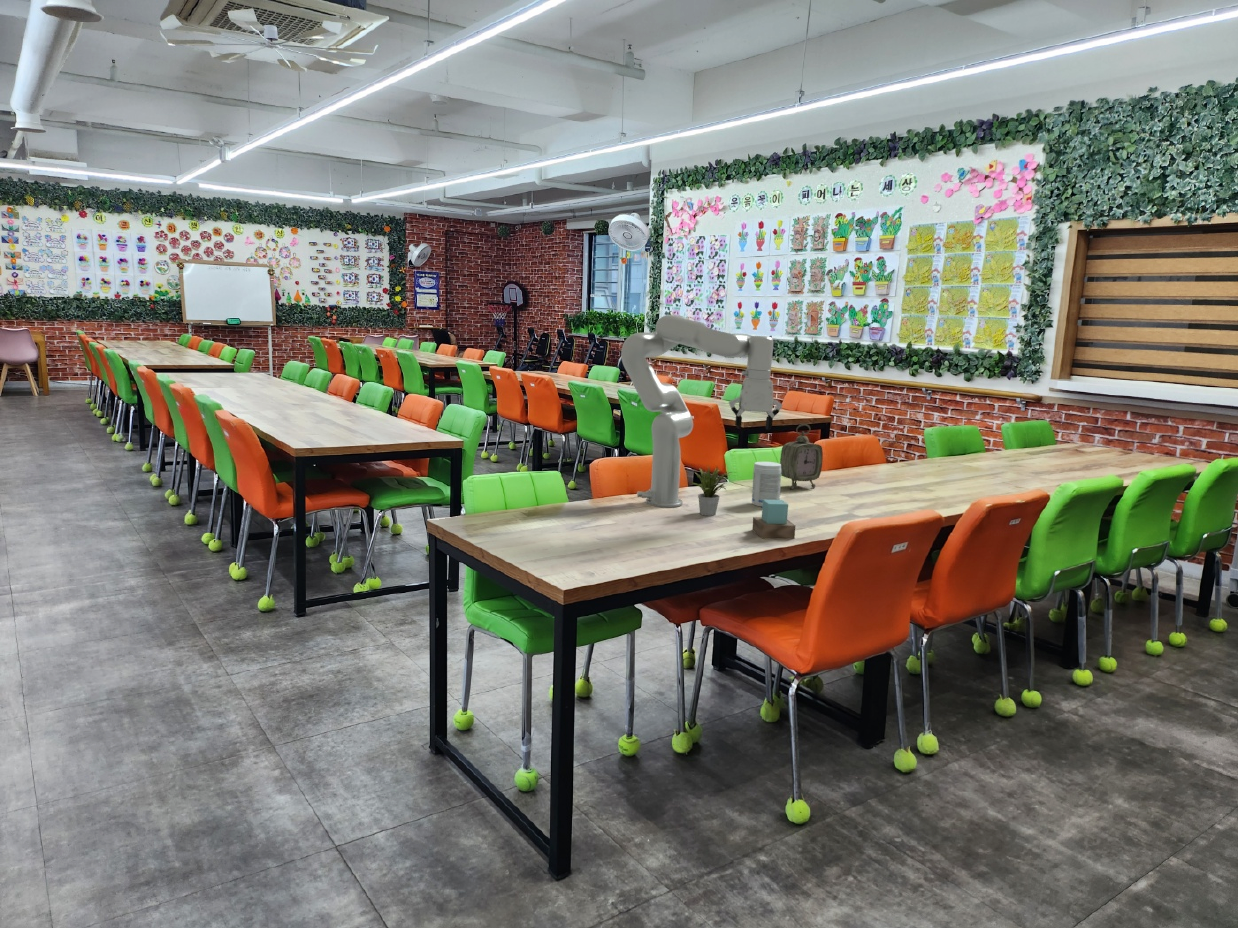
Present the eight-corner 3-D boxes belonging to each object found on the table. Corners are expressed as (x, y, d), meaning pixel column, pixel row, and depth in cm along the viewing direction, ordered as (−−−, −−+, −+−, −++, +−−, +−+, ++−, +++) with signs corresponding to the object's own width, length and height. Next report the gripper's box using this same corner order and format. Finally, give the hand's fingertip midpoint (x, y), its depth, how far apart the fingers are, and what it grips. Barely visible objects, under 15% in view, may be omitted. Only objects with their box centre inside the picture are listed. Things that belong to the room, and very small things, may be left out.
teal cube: (767, 523, 252) (768, 504, 251) (761, 518, 258) (762, 499, 257) (786, 523, 253) (788, 504, 252) (780, 518, 259) (782, 499, 258)
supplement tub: (784, 505, 297) (787, 464, 294) (768, 509, 290) (771, 467, 288) (762, 500, 303) (765, 460, 301) (745, 503, 297) (748, 462, 294)
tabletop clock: (791, 491, 323) (796, 426, 318) (776, 486, 331) (780, 422, 326) (820, 488, 330) (825, 425, 325) (804, 484, 338) (809, 422, 333)
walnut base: (762, 538, 251) (762, 525, 250) (752, 529, 261) (753, 517, 260) (794, 538, 252) (795, 525, 252) (783, 530, 262) (784, 517, 261)
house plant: (728, 521, 270) (732, 471, 267) (685, 517, 272) (688, 468, 269) (731, 512, 283) (735, 464, 281) (690, 508, 286) (693, 460, 283)
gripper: (734, 375, 263) (729, 429, 266) (788, 378, 265) (782, 431, 269) (728, 373, 271) (724, 425, 274) (781, 375, 273) (775, 428, 276)
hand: (753, 428), depth 271 cm, fingers open, 9 cm apart
